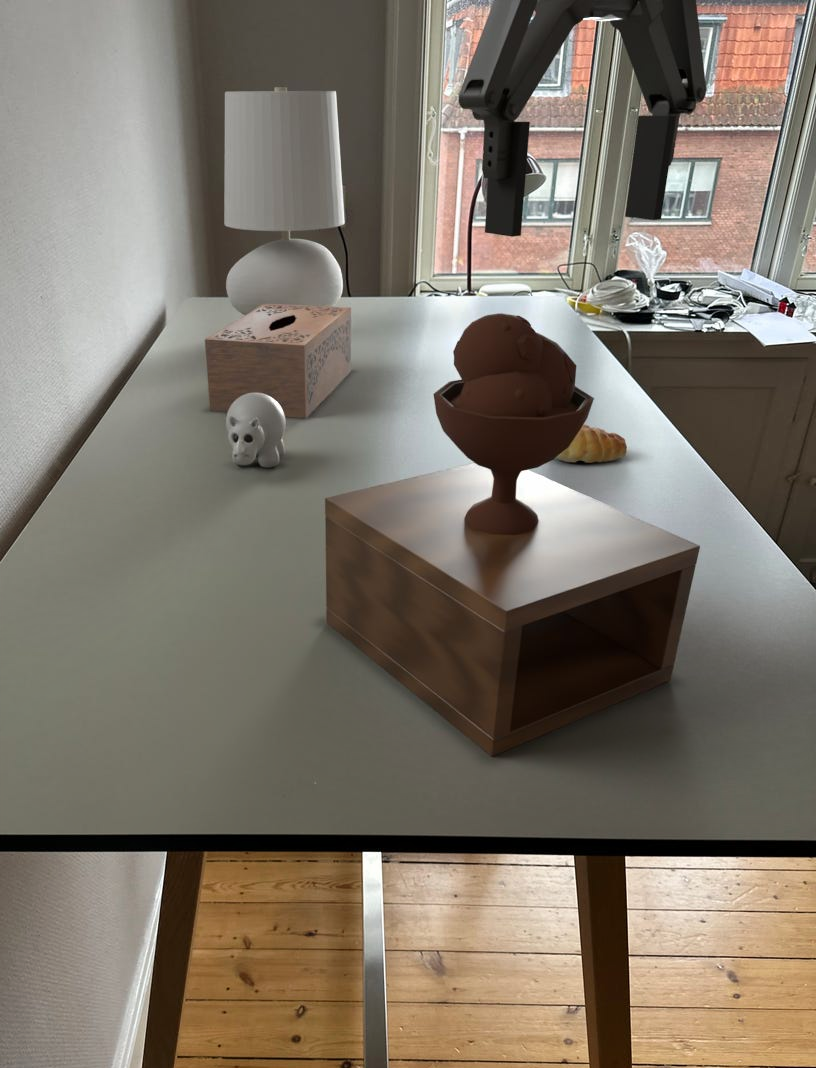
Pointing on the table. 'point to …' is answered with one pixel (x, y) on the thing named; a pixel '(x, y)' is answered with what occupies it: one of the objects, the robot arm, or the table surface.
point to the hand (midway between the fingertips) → (575, 226)
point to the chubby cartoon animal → (256, 430)
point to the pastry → (594, 446)
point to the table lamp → (283, 195)
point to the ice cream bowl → (510, 411)
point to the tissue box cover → (280, 356)
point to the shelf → (505, 600)
